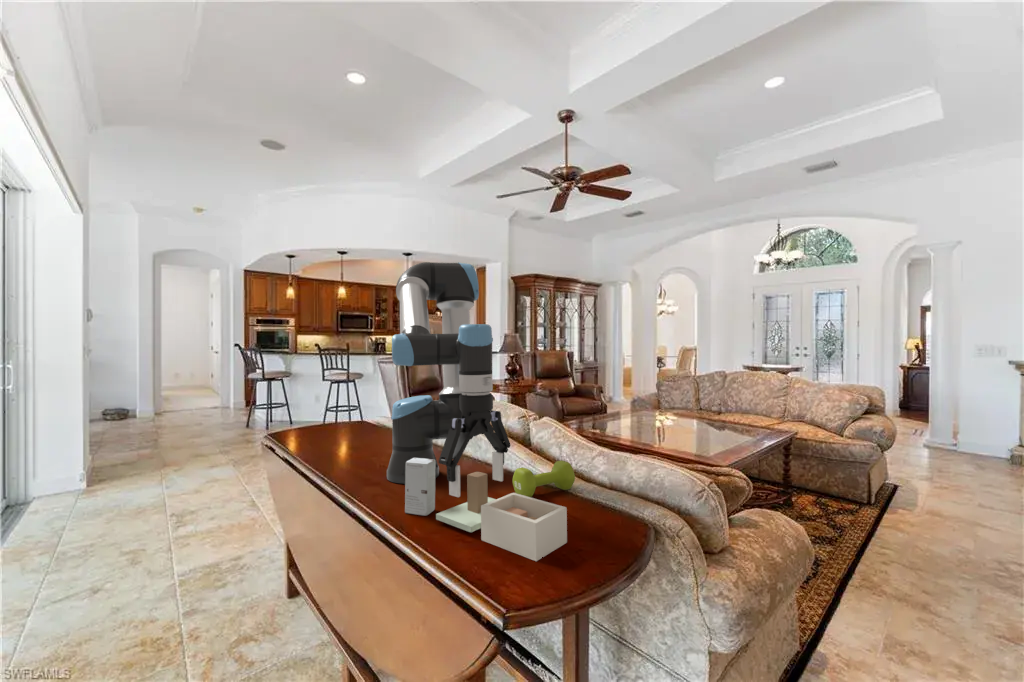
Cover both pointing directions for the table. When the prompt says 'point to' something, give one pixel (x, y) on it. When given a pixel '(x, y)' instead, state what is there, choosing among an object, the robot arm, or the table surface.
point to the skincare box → (420, 486)
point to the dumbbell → (543, 478)
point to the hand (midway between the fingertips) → (477, 487)
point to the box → (524, 525)
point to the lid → (469, 505)
